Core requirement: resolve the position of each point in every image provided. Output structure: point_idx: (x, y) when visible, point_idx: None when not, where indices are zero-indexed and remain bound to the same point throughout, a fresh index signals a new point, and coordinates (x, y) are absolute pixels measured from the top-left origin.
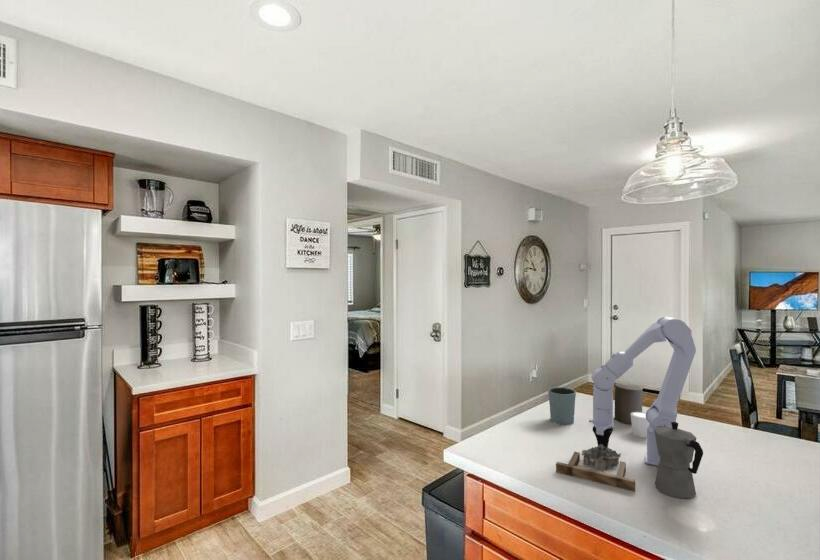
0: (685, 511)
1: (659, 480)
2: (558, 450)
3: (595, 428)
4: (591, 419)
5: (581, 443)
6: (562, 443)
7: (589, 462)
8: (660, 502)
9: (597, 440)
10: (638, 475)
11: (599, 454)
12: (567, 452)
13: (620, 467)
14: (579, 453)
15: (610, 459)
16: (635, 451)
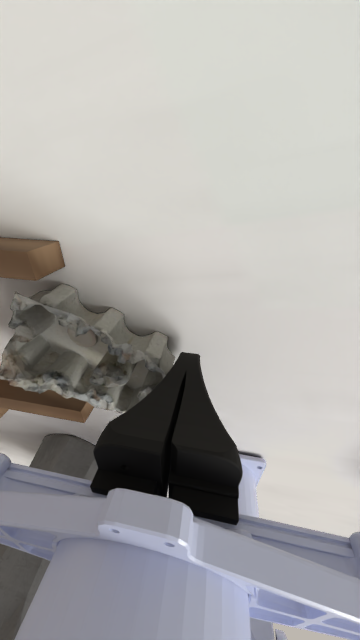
0: (10, 447)
1: (34, 459)
2: (116, 109)
3: (112, 459)
4: (137, 540)
5: (316, 252)
6: (274, 103)
7: (41, 312)
8: (4, 427)
9: (158, 384)
10: (94, 417)
11: (165, 344)
12: (123, 185)
13: (32, 406)
14: (30, 279)
15: (73, 389)
16: (280, 439)
